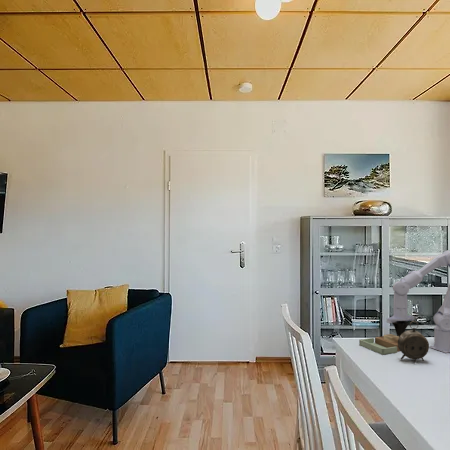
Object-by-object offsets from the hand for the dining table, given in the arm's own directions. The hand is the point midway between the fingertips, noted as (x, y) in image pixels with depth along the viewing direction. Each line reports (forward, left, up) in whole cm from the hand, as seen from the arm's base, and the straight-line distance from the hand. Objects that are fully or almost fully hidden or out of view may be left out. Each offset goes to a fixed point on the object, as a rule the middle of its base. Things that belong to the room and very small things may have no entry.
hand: (400, 337), depth 172 cm
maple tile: (+5, 0, -1) cm, 5 cm away
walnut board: (+5, 0, -4) cm, 6 cm away
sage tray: (+13, 0, -4) cm, 14 cm away
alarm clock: (+11, +17, -4) cm, 21 cm away
